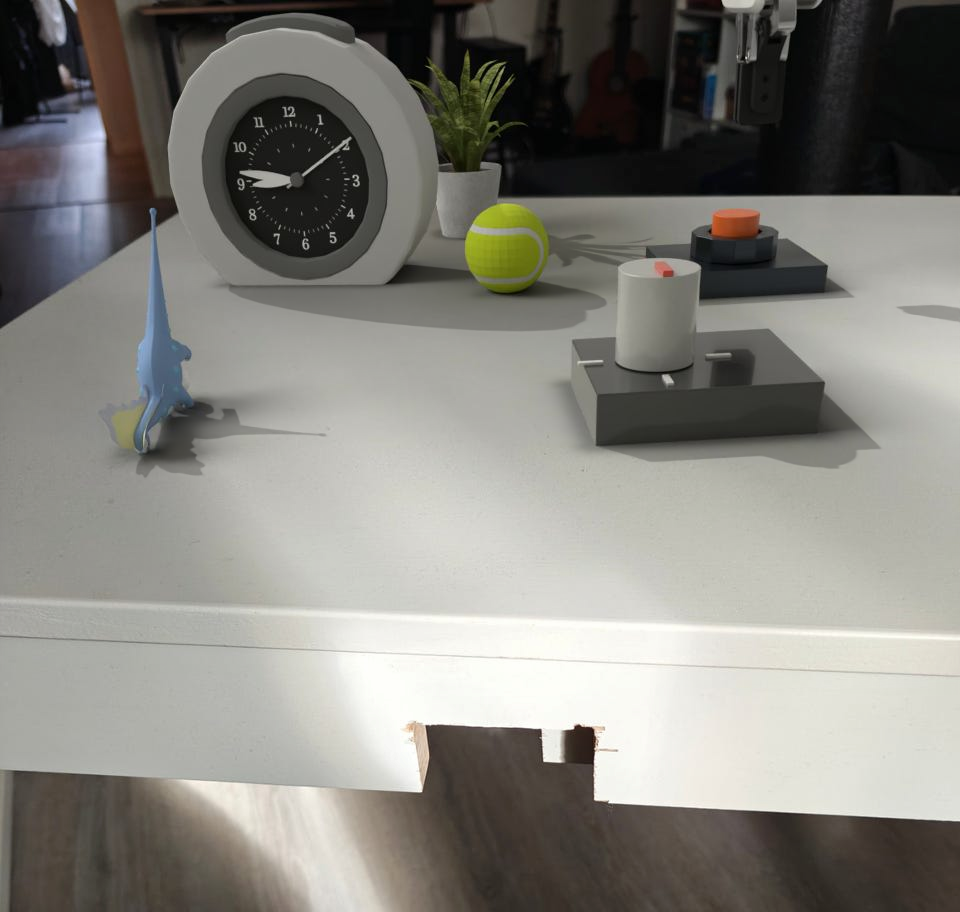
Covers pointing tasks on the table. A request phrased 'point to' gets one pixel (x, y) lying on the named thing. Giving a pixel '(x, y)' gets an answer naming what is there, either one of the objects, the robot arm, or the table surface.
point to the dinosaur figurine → (152, 371)
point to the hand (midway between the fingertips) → (756, 122)
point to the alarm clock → (302, 157)
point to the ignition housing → (747, 264)
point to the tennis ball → (506, 248)
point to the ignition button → (735, 222)
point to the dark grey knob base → (698, 391)
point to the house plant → (465, 146)
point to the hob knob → (657, 314)
